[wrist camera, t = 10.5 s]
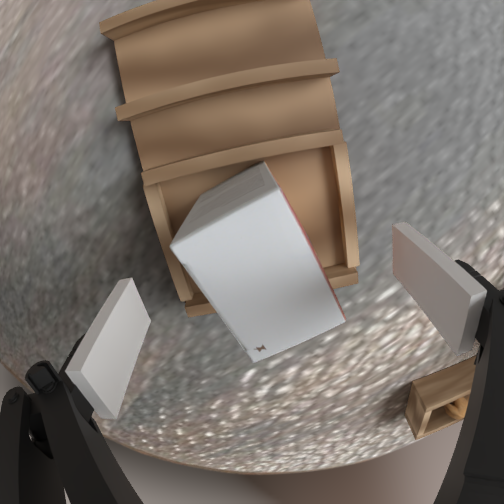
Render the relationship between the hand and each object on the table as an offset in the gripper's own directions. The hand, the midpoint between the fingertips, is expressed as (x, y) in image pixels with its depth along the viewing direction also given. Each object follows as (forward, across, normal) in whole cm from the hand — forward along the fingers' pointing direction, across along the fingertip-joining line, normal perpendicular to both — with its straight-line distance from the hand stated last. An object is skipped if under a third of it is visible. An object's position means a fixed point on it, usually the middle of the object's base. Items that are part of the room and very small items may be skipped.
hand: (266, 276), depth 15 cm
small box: (+10, 0, 0) cm, 10 cm away
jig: (+11, 0, +6) cm, 12 cm away
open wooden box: (+10, +24, -30) cm, 39 cm away
